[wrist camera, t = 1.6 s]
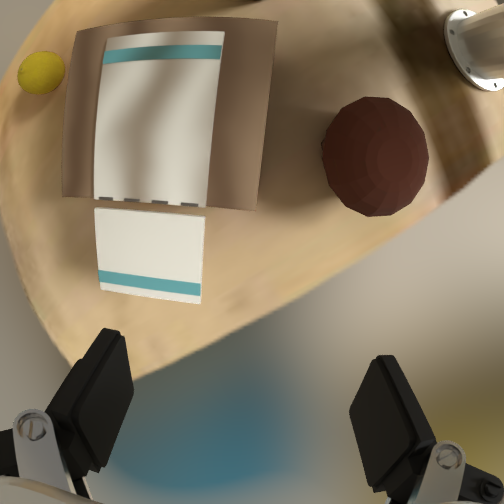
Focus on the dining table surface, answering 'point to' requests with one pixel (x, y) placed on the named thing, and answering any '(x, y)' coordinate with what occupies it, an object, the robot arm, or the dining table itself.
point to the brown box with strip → (169, 111)
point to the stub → (150, 253)
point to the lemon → (41, 72)
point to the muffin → (375, 156)
